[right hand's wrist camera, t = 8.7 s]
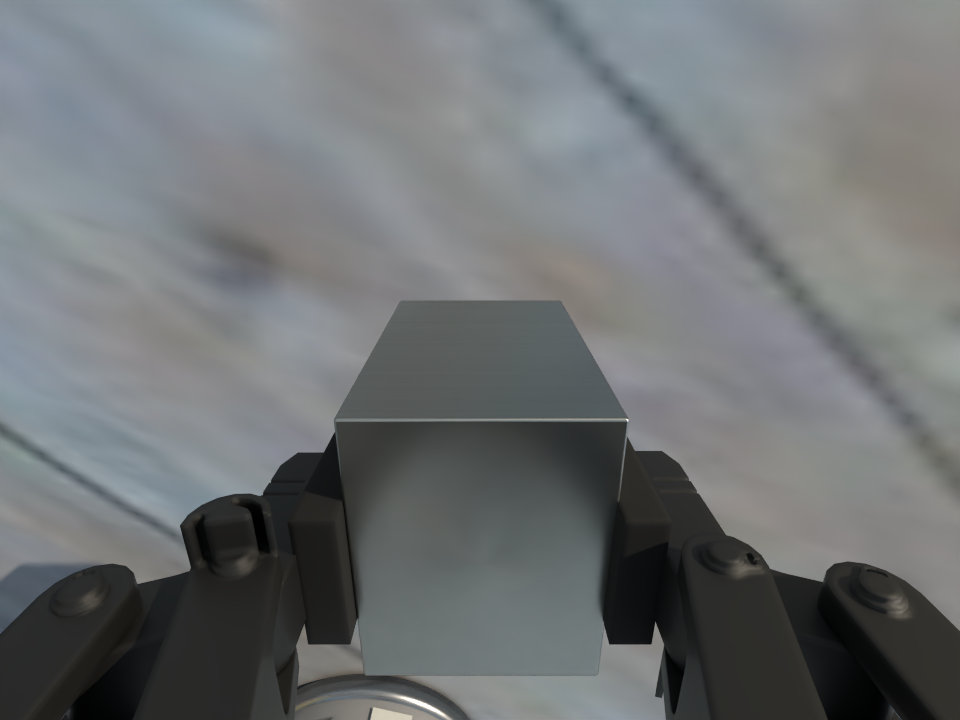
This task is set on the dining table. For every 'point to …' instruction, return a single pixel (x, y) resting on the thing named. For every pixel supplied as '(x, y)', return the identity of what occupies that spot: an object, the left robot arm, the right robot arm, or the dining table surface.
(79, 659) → the right robot arm
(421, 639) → the block
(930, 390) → the dining table surface
